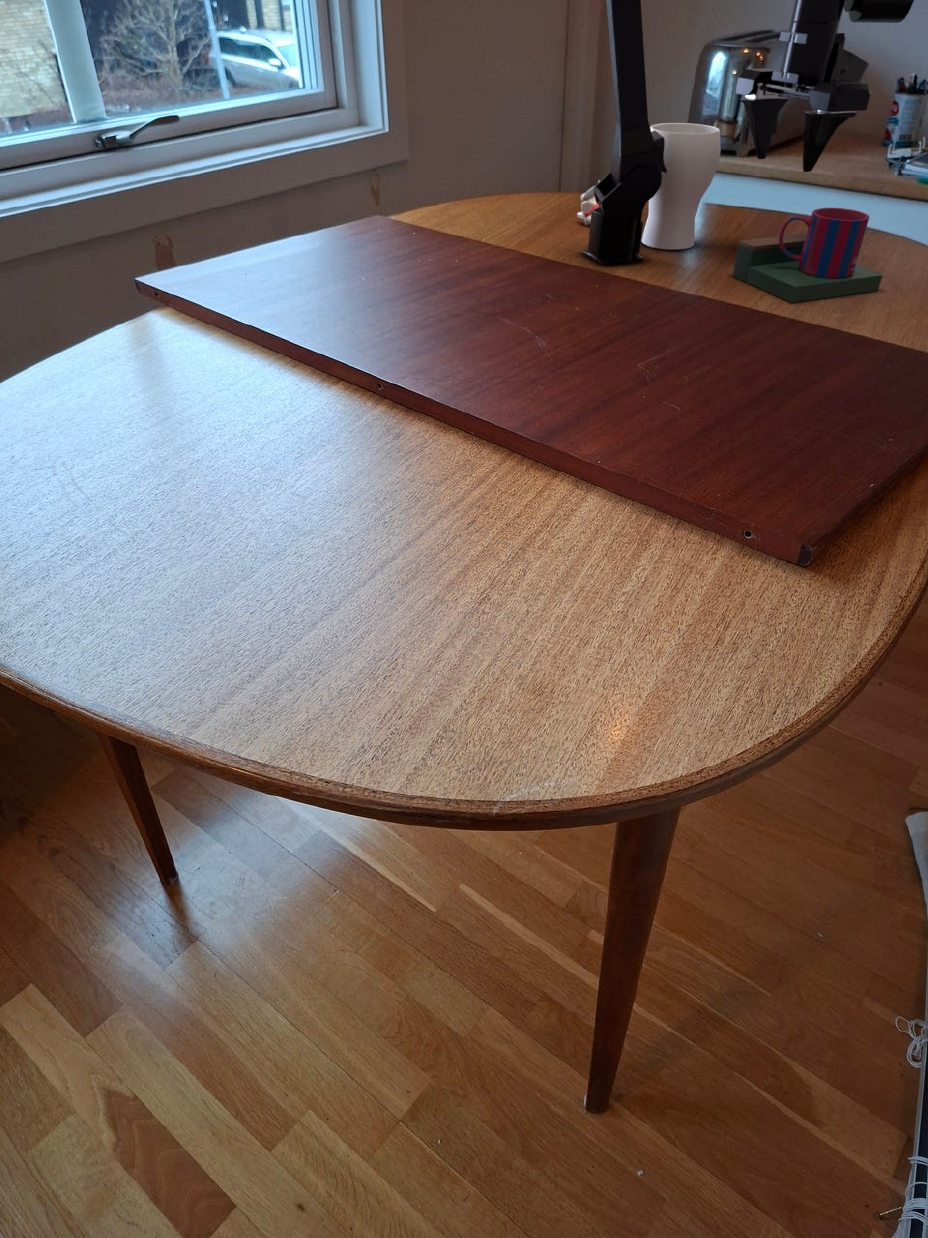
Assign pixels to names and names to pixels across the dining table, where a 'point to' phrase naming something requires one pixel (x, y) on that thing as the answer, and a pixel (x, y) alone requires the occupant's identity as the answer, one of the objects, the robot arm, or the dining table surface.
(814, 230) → the cup
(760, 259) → the green l-shaped stand
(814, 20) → the robot arm
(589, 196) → the toy airplane
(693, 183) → the cup
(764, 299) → the dining table surface
